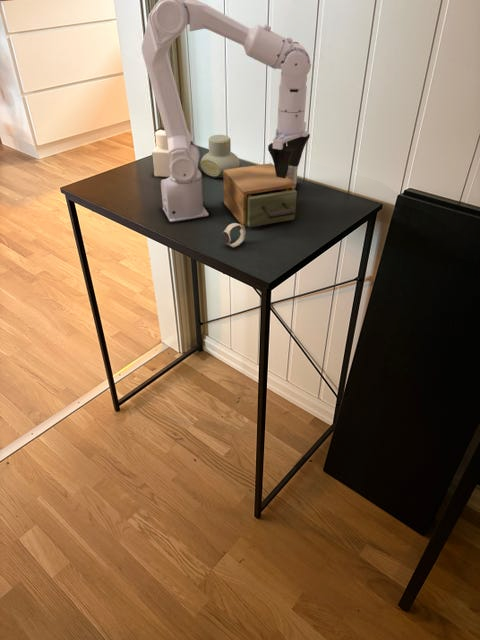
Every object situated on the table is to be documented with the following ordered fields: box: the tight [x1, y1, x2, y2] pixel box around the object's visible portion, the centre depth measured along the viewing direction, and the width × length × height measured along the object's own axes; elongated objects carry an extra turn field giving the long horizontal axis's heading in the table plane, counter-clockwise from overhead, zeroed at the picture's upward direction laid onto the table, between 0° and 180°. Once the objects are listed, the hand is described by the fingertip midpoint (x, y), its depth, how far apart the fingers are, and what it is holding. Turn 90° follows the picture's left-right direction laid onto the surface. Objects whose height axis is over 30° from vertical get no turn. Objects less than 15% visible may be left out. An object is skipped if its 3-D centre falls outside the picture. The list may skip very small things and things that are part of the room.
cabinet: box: [222, 162, 296, 228], centre depth 117 cm, size 14×13×9 cm
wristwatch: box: [221, 222, 247, 248], centre depth 105 cm, size 3×5×5 cm, turn 129°
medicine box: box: [287, 165, 299, 188], centre depth 127 cm, size 8×4×9 cm, turn 168°
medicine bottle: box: [151, 126, 170, 178], centre depth 135 cm, size 7×7×12 cm
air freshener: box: [199, 134, 241, 179], centre depth 135 cm, size 11×8×10 cm
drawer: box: [247, 188, 298, 228], centre depth 113 cm, size 17×11×7 cm, turn 21°
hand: (287, 171), depth 113 cm, fingers open, 7 cm apart
